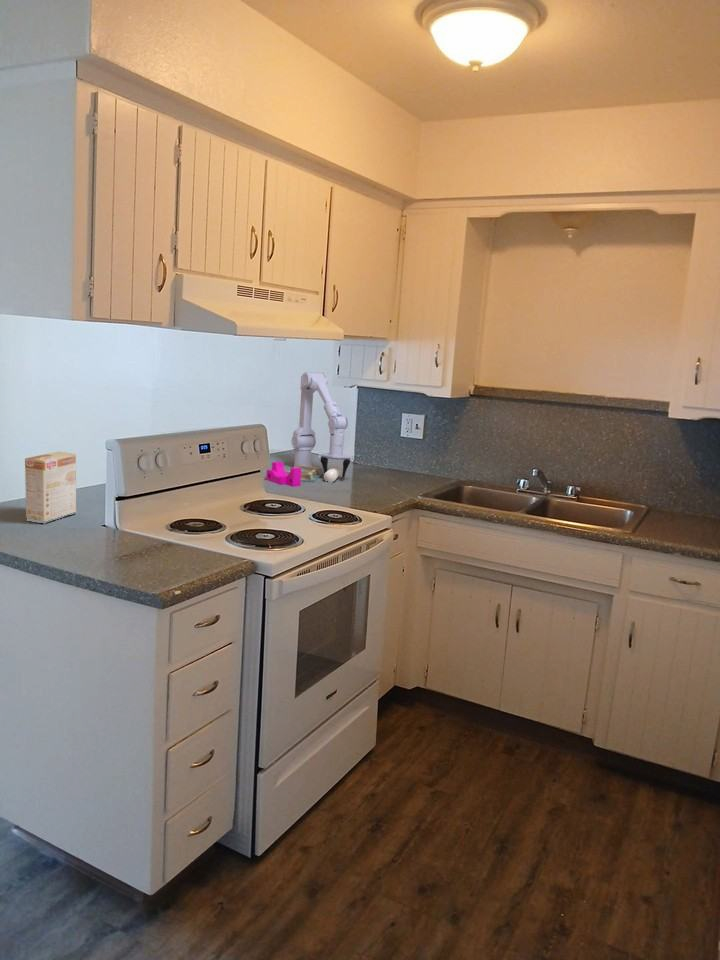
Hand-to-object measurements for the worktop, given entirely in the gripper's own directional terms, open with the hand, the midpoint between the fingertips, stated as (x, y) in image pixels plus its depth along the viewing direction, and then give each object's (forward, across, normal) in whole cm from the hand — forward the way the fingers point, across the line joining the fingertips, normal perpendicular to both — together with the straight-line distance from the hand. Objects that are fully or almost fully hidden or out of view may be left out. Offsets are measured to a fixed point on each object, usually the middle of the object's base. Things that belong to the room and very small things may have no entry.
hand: (334, 476), depth 326 cm
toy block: (+2, -18, -17) cm, 25 cm away
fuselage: (+2, 0, 0) cm, 2 cm away
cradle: (+2, -14, 0) cm, 14 cm away
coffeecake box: (+2, -69, -102) cm, 123 cm away
